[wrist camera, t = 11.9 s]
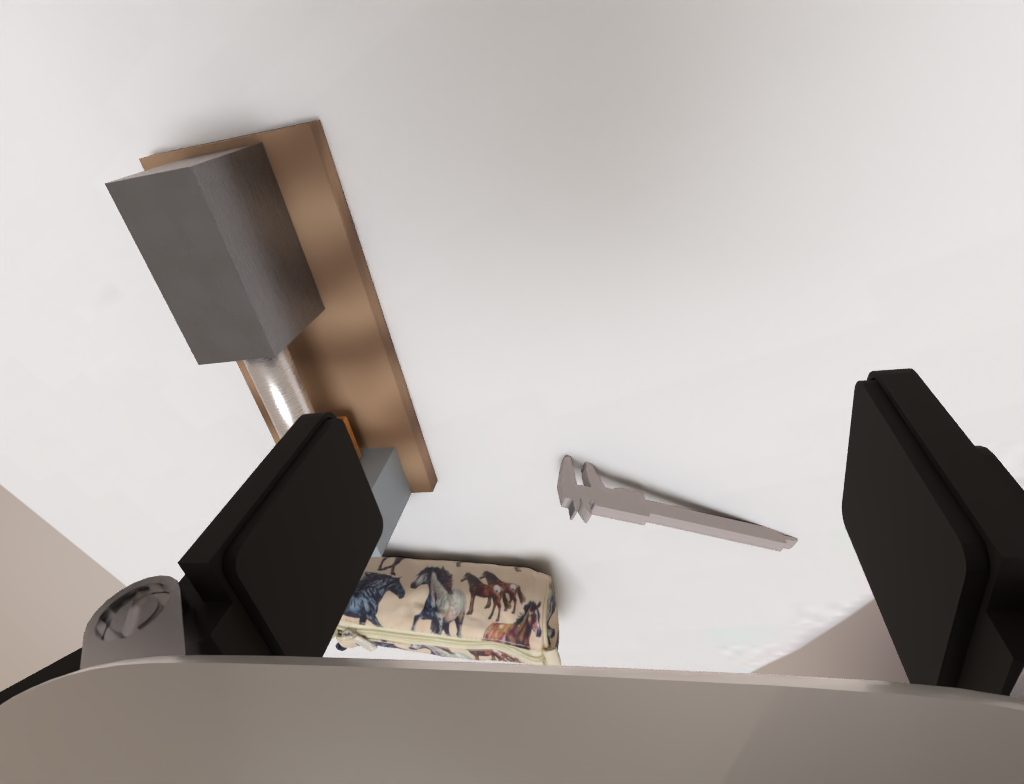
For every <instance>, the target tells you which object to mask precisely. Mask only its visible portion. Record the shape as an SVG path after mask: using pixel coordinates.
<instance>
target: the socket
mask: <svg viewBox="0 0 1024 784" xmlns="http://www.w3.org/2000/svg"><path fill="white" fill-rule="evenodd" d="M360 452H361V454H362V457H361V459H360V462H361V465H362V467H363V470H364V472H365V475H366V477H367V480H368V482H369V485H370V487H371V490H372V492H373V495H374V497H375V500H376V502H377V505H378V507H379V510H380V512H381V515H382V518H383V532H382V535H381V537H380V539H379V542H378V544H377V546H376V548H375V550H374V552H373V554H372V556H371V557H382V555H383V553H384V550H385V548H386V546H387V544H388V542H389V540H390V538H391V535H392V533H393V531H394V529H395V527H396V525H397V523H398V520H399V518H400V516H401V514H402V512H403V510H404V508H405V505H406V503H407V501H408V499H409V497H410V495H411V490H410V487H409V484H408V482H407V479H406V476H405V473H404V471H403V468H402V465H401V462H400V459H399V457H398V454H397V451H396V448H395V447H387V448H370V449H360Z"/></svg>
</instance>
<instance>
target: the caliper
mask: <svg viewBox="0 0 1024 784" xmlns="http://www.w3.org/2000/svg"><path fill="white" fill-rule="evenodd" d="M581 472H582V480H583V484H584V486H582V485H577V482H576V478H575V474H574V470H573V466H572V461H571V456H566V457H564V460H563V462H562V464H561V466H560V471H559V477H558V484H557V490H558V494H559V499H560V503H561V507H565V508H568V509H569V515H570V520H572V519H573V518H574V516H575V515H576V513H577V511H578V513H579V515H580V517H581V518H582V519H583V520H584V522H585V523H587V522H588V520H589V518H590V516H591V515H592V514H593V515H597V516H602V517H607V518H612V519H616V520H621V521H626V522H631V523H636V524H640V525H644V524H645V523H646V522H649V523H654V524H658V525H663V526H667V527H672V528H676V529H681V530H685V531H690V532H694V533H699V534H703V535H708V536H712V537H717V538H721V539H726V540H730V541H735V542H739V543H744V544H748V545H753V546H758V547H762V548H767V549H771V550H776V551H781V550H782V549H783V548H786V549H790V548H792V547H793V545H794V544H795V543H796V542H797V541H798V539H796V538H794V537H790V536H785V535H783V534H782V533H781V532H778V531H775V530H772V529H770V528H767V527H764V526H759V525H755V524H750V523H746V522H741V521H737V520H732V519H728V518H723V517H719V516H715V515H710V514H706V513H701V512H697V511H693V510H688V509H684V508H680V507H675V506H671V505H667V504H662V503H658V502H654V501H649V500H645V498H644V495H643V493H642V492H640V491H630V490H628V489H625V488H614V489H610V488H605V486H604V484H603V483H602V481H601V479H600V478H599V476H598V474H597V472H596V471H595V469H594V467H593V466H592V464H591V463H588V462H585V463H584V465H583V467H582V469H581Z"/></svg>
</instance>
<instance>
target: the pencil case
mask: <svg viewBox="0 0 1024 784" xmlns="http://www.w3.org/2000/svg"><path fill="white" fill-rule="evenodd" d="M335 636H336V638H337V641H338V643H337V645H336V648H337V649H338V650H341V651H343V650H346V649H347V648H353V647H357V646H362V647H364V648H365V649H367V650H369V651H373V650H375V649H376V648H377V645H378V646H383V647H391V648H399V649H403V650H408V651H414V652H421V653H427V654H434V655H438V656H443V657H452V658H462V659H471V660H491V661H507V662H517V663H527V664H531V665H557V666H561V661H560V656H559V653H558V644H559V623H558V613H557V607H556V602H555V594H554V589H553V583H552V578H551V576H550V575H546V574H544V573H541V572H536V571H534V570H532V569H530V568H525V567H514V566H499V565H495V564H479V563H468V562H460V561H443V560H419V559H410V558H400V557H371V558H370V560H369V562H368V564H367V566H366V568H365V570H364V572H363V575H362V577H361V579H360V581H359V583H358V585H357V587H356V589H355V591H354V593H353V595H352V597H351V599H350V601H349V603H348V605H347V608H346V610H345V612H344V614H343V616H342V618H341V620H340V622H339V624H338V626H337V628H336V630H335V632H334V634H333V636H332V638H333V637H335ZM332 638H331V639H332Z"/></svg>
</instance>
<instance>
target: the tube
mask: <svg viewBox="0 0 1024 784" xmlns="http://www.w3.org/2000/svg"><path fill="white" fill-rule="evenodd" d="M243 361H244V363H245V365H246V367H247V370H248V372H249V374H250V376H251V378H252V380H253V382H254V384H255V386H256V389H257V391H258V393H259V395H260V397H261V399H262V401H263V403H264V405H265V408H266V410H267V412H268V414H269V416H270V418H271V420H272V422H273V424H274V427H275V429H276V431H277V433H278V435H279V437H280V439H281V438H282V437H283V436H284V435H285V433H286V432H287V431H288V430H289V429H290V427H291V426H292V425H293V424H294V423H295V421H296V420H297V419H298V418H299V417H300V416H301V415H302V414H309V413H315V411H314V409H313V406H312V404H311V402H310V399H309V397H308V395H307V392H306V390H305V388H304V385H303V383H302V381H301V378H300V376H299V373H298V371H297V369H296V366H295V364H294V362H293V359H292V357H291V355H290V352H289V350H288V348H287V346H286V347H285V348H284V349H283V350H282V351H281V352H280V353H279V354H278V355H277V356H276V357H269V358H260V359H250V360H243ZM337 418H339V419H342V420H343V421H344V423H345V425H346V427H347V430H348V432H349V435H350V437H351V440H352V442H353V445H354V447H355V450H356V452H357V455H358V457H359V460H360V459H361V457H362V454H361V452H360V449H359V447H358V444H357V442H356V439H355V437H354V434H353V432H352V429H351V427H350V424H349V422H348V419H347V417H346V416H340V417H337Z"/></svg>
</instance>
